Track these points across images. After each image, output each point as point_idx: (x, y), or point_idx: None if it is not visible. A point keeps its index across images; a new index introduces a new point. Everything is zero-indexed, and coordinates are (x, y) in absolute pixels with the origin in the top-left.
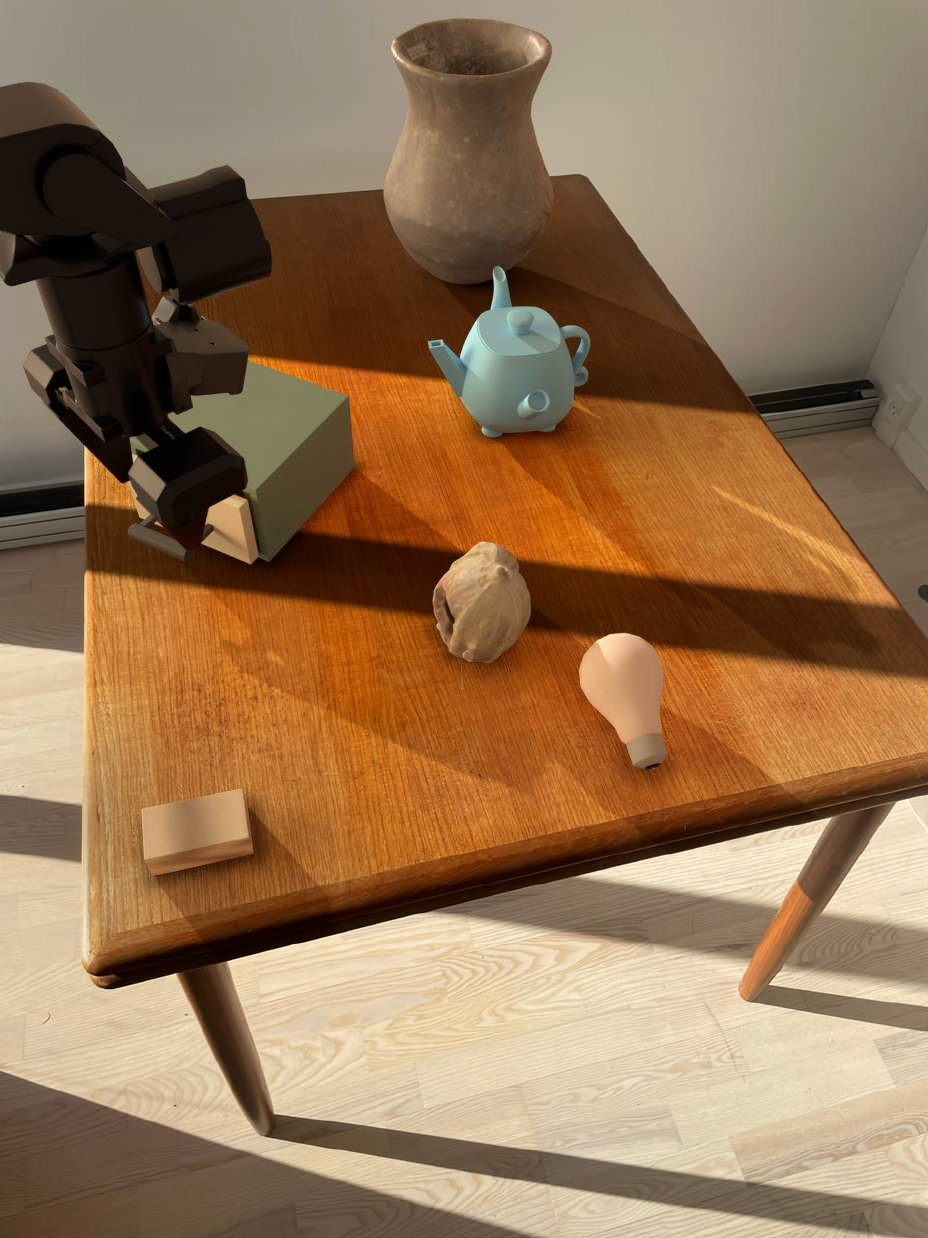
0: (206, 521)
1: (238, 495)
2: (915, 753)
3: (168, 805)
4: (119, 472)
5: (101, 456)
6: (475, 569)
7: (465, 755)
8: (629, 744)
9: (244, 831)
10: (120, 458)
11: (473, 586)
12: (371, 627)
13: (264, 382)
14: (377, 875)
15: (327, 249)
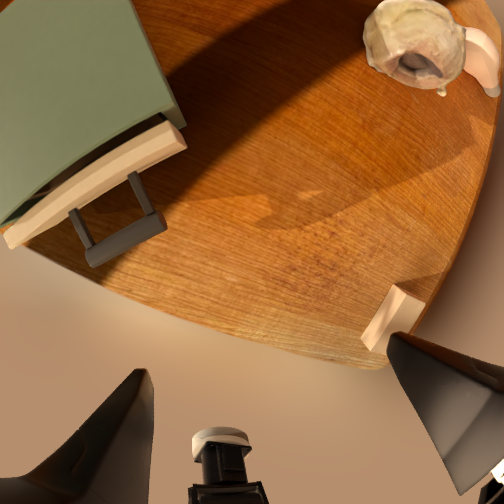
0: (124, 176)
1: None
2: (500, 29)
3: (381, 337)
4: (151, 410)
5: (147, 466)
6: (447, 34)
7: (449, 146)
8: (491, 90)
9: (422, 304)
10: (139, 426)
11: (457, 52)
12: (334, 100)
13: (4, 26)
14: (457, 242)
15: None
